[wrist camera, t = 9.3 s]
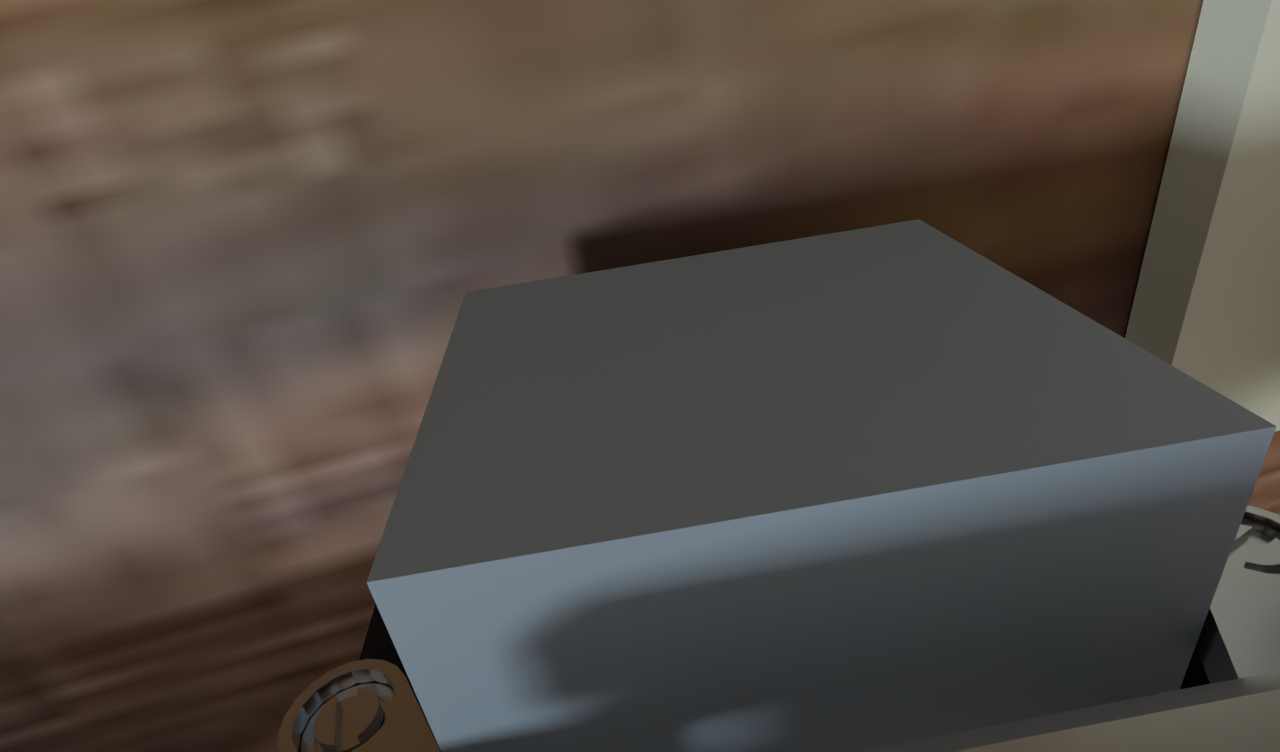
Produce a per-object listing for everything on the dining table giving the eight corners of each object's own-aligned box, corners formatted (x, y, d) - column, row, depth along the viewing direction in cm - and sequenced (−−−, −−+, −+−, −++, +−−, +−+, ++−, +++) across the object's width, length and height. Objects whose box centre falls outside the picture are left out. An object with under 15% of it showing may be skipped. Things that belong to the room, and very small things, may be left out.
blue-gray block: (466, 292, 10) (367, 582, 5) (919, 218, 11) (1276, 425, 5) (554, 617, 14) (550, 997, 8) (898, 558, 14) (1103, 893, 9)
